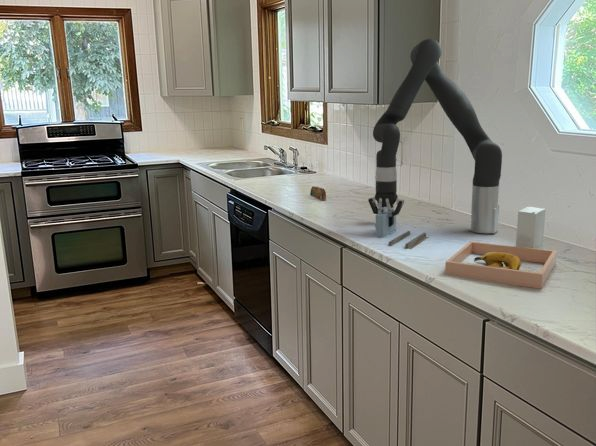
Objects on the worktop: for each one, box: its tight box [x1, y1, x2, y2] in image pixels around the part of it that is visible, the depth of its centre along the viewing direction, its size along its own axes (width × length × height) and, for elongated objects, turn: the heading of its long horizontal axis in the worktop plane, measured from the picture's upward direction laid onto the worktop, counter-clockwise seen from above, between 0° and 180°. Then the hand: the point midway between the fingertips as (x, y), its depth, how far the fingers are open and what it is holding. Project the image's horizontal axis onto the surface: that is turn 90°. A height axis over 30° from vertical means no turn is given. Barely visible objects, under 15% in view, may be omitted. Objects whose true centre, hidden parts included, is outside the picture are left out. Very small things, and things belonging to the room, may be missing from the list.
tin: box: [309, 186, 327, 202], centre depth 277 cm, size 15×3×8 cm, turn 19°
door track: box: [388, 230, 429, 250], centre depth 199 cm, size 9×18×2 cm, turn 149°
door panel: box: [375, 209, 397, 239], centre depth 209 cm, size 3×12×8 cm, turn 149°
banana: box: [473, 252, 522, 270], centre depth 166 cm, size 15×19×6 cm
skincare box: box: [515, 206, 546, 249], centre depth 182 cm, size 8×6×15 cm
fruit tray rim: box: [444, 241, 558, 289], centre depth 169 cm, size 26×26×4 cm
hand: (386, 225), depth 209 cm, fingers closed on door panel, 3 cm apart
